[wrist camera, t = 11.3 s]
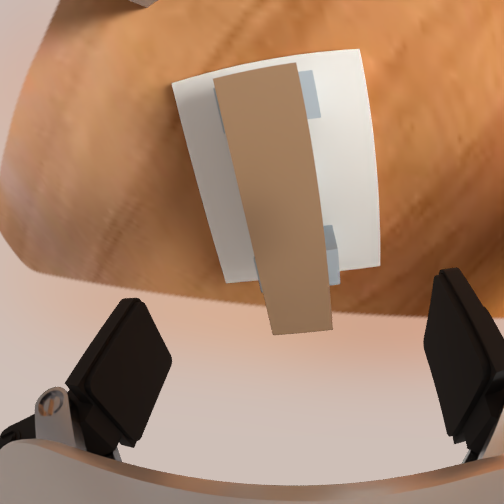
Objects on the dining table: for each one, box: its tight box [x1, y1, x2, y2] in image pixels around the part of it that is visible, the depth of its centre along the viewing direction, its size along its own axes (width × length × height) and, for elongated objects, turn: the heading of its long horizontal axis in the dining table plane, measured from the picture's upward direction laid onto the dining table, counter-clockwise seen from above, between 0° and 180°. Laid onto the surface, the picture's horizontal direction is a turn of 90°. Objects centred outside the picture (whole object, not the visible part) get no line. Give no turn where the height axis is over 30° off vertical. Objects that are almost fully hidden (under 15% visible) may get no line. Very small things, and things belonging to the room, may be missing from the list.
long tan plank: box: [213, 62, 333, 335], centre depth 18 cm, size 4×16×4 cm, turn 12°
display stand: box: [171, 49, 380, 293], centre depth 22 cm, size 14×18×6 cm
